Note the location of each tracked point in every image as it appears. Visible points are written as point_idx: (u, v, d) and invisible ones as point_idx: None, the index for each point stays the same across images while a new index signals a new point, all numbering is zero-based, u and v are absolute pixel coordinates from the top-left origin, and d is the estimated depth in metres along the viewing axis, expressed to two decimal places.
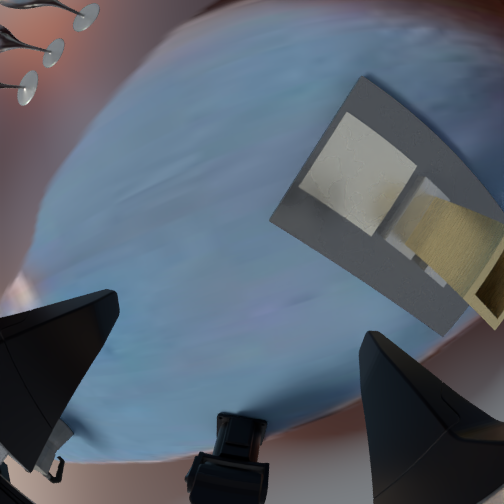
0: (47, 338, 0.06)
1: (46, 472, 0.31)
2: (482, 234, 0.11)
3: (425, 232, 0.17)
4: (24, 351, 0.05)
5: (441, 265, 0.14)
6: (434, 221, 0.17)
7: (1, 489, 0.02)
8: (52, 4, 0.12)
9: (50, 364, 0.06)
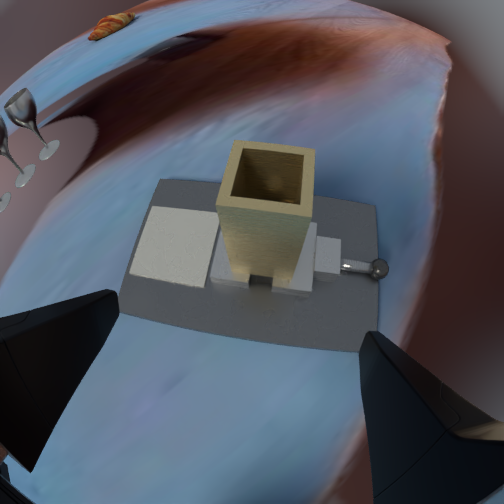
0: (47, 338, 0.06)
1: None
2: None
3: None
4: (24, 351, 0.05)
5: None
6: None
7: (1, 489, 0.02)
8: None
9: (50, 364, 0.06)
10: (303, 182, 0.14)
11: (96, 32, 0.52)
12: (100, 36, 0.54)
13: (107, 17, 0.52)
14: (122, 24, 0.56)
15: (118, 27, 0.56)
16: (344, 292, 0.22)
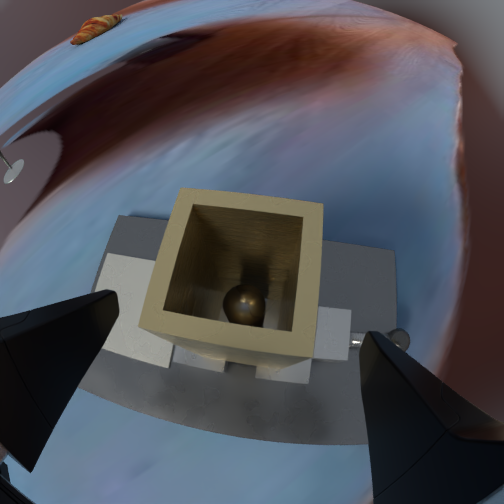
0: (47, 338, 0.06)
1: None
2: None
3: None
4: (24, 351, 0.05)
5: None
6: None
7: (1, 489, 0.02)
8: None
9: (50, 364, 0.06)
10: (300, 280, 0.07)
11: (79, 36, 0.47)
12: (83, 40, 0.49)
13: (91, 19, 0.47)
14: (107, 26, 0.51)
15: (102, 30, 0.51)
16: (351, 374, 0.16)
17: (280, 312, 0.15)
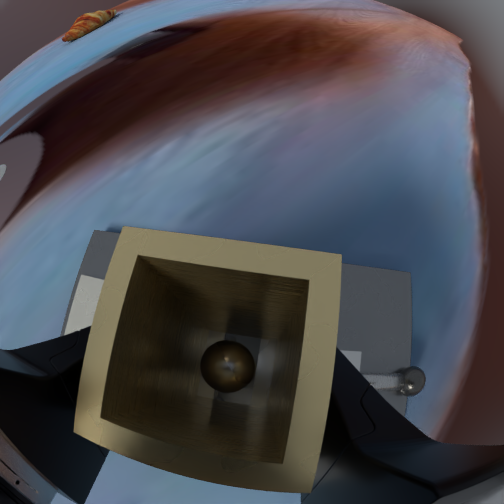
0: None
1: None
2: None
3: None
4: None
5: None
6: None
7: (1, 489, 0.02)
8: None
9: None
10: (300, 389, 0.04)
11: (70, 32, 0.44)
12: (75, 36, 0.45)
13: (83, 15, 0.43)
14: (99, 22, 0.47)
15: (95, 26, 0.47)
16: None
17: (276, 360, 0.11)
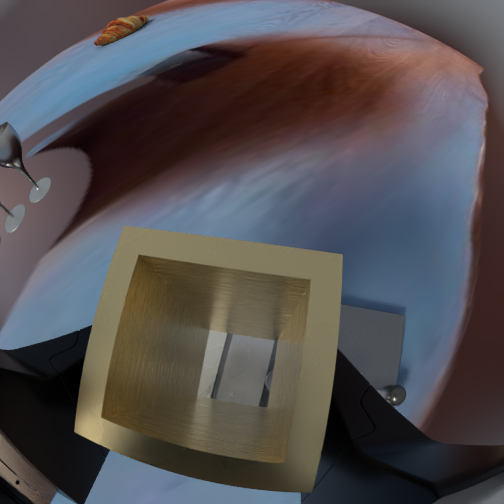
0: None
1: None
2: None
3: None
4: None
5: None
6: None
7: (1, 489, 0.02)
8: None
9: None
10: (301, 389, 0.04)
11: (103, 37, 0.50)
12: (107, 41, 0.52)
13: (116, 20, 0.50)
14: (132, 29, 0.54)
15: (127, 32, 0.54)
16: None
17: (276, 360, 0.11)
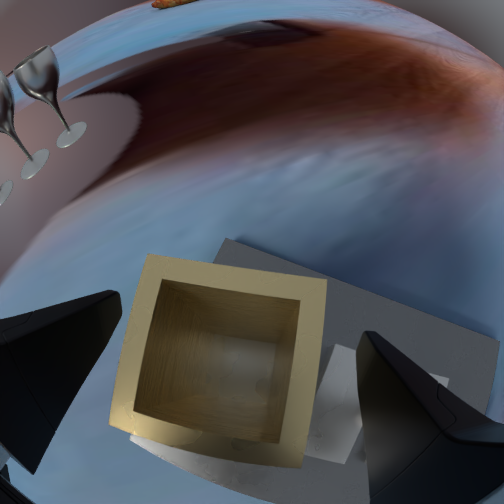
0: (50, 340, 0.06)
1: None
2: None
3: None
4: (27, 353, 0.05)
5: None
6: None
7: (1, 489, 0.02)
8: None
9: (53, 366, 0.06)
10: (292, 385, 0.06)
11: (162, 0, 0.46)
12: (166, 5, 0.48)
13: None
14: None
15: None
16: None
17: (275, 361, 0.13)
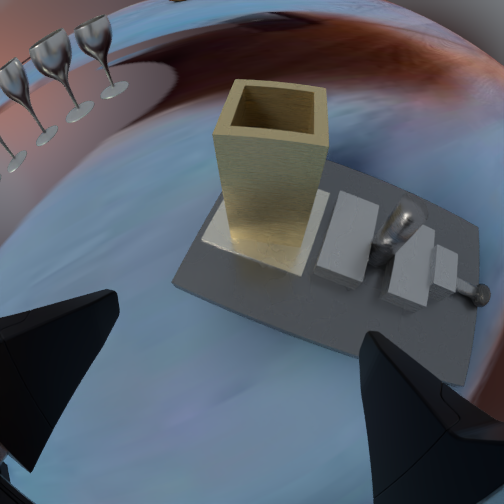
0: (47, 338, 0.06)
1: None
2: None
3: None
4: (24, 351, 0.05)
5: None
6: None
7: (1, 489, 0.02)
8: (27, 106, 0.22)
9: (50, 364, 0.06)
10: (315, 114, 0.11)
11: None
12: None
13: None
14: None
15: None
16: (448, 314, 0.16)
17: None
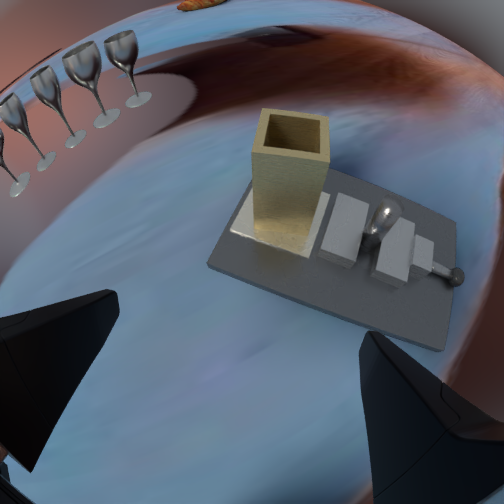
0: (47, 338, 0.06)
1: None
2: None
3: None
4: (24, 351, 0.05)
5: None
6: None
7: (1, 489, 0.02)
8: (58, 111, 0.27)
9: (50, 364, 0.06)
10: (321, 138, 0.16)
11: (186, 3, 0.57)
12: (189, 8, 0.59)
13: None
14: (213, 2, 0.59)
15: (209, 4, 0.60)
16: (427, 291, 0.21)
17: None
